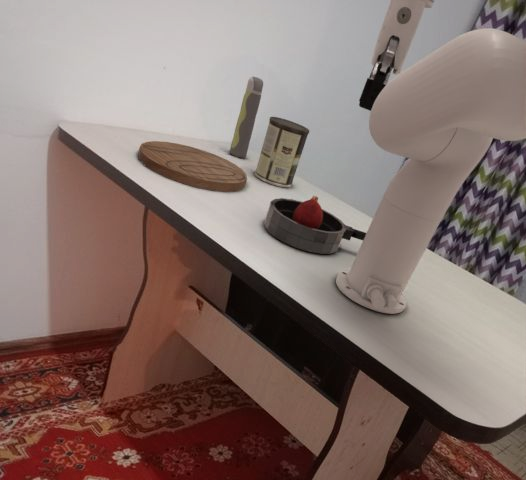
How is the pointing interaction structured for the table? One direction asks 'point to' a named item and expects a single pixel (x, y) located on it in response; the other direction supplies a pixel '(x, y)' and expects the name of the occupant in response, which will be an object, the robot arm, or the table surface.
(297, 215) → the onion
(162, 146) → the trivet
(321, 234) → the pan
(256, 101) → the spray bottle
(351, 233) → the pan handle
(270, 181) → the coffee can
